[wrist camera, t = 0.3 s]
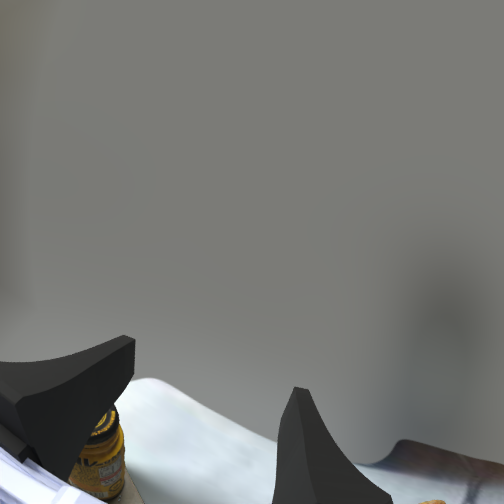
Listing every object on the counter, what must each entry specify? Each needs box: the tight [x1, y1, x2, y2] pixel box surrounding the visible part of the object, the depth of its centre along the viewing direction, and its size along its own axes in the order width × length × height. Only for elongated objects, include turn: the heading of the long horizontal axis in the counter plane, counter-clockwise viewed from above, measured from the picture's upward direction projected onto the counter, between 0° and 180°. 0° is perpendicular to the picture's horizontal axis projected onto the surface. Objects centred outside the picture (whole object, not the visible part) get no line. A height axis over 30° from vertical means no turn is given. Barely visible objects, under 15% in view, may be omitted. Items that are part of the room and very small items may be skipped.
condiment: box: [67, 404, 145, 504], centre depth 18 cm, size 7×8×12 cm
